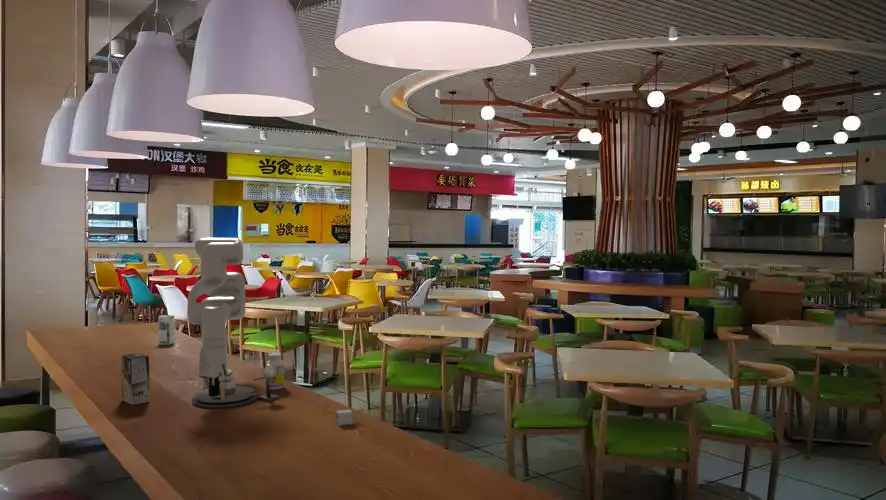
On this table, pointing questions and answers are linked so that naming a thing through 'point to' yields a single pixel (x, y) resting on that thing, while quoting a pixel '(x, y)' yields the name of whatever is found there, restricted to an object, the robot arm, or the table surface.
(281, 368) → the supplement bottle
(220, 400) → the platter
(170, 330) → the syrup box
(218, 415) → the table surface
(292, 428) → the table surface
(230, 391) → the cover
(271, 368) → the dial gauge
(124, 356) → the coffee box
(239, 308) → the robot arm
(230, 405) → the turntable base
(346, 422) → the usb wall charger
